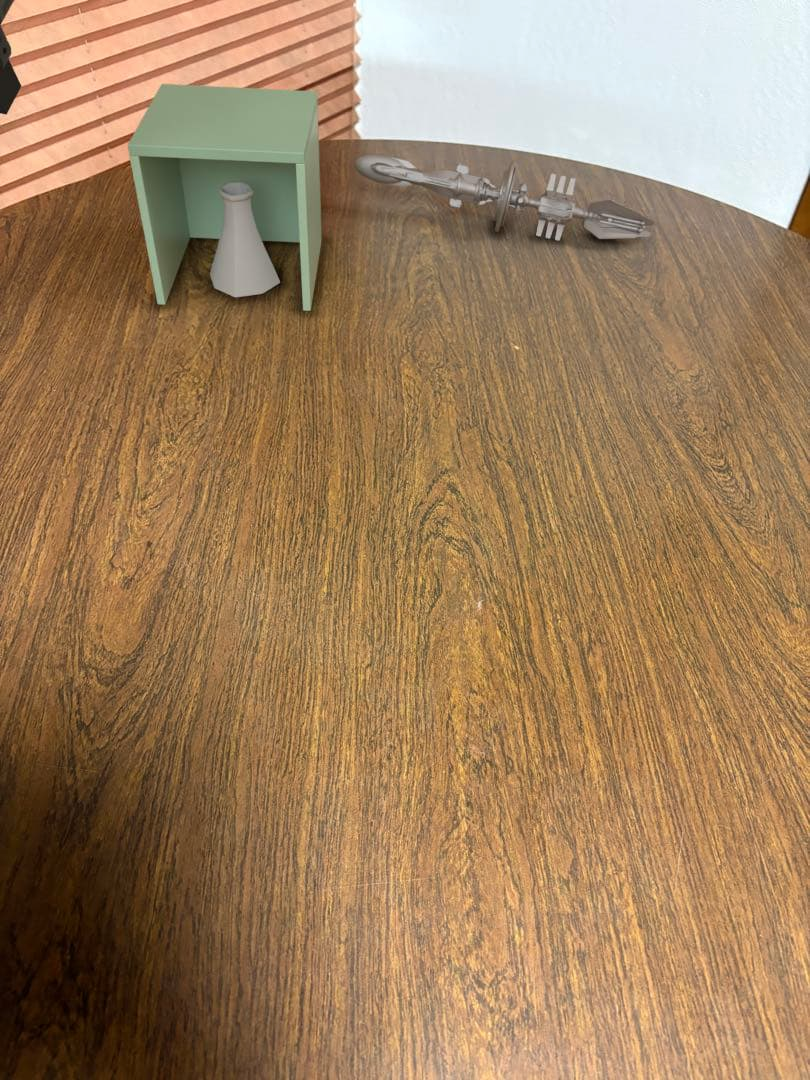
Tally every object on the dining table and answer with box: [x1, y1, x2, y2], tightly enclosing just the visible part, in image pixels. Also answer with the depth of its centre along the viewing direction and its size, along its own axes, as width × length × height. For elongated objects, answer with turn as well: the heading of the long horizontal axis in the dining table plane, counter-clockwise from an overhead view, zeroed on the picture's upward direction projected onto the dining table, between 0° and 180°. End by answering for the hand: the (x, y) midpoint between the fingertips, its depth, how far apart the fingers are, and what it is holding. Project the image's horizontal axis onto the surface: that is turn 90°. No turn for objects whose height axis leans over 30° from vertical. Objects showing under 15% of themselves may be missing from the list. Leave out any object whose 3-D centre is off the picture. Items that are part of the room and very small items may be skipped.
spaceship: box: [354, 153, 655, 242], centre depth 99 cm, size 8×35×8 cm
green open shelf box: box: [127, 83, 323, 312], centre depth 87 cm, size 15×16×16 cm
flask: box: [209, 181, 281, 298], centre depth 88 cm, size 7×7×10 cm
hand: (3, 97), depth 60 cm, fingers closed
